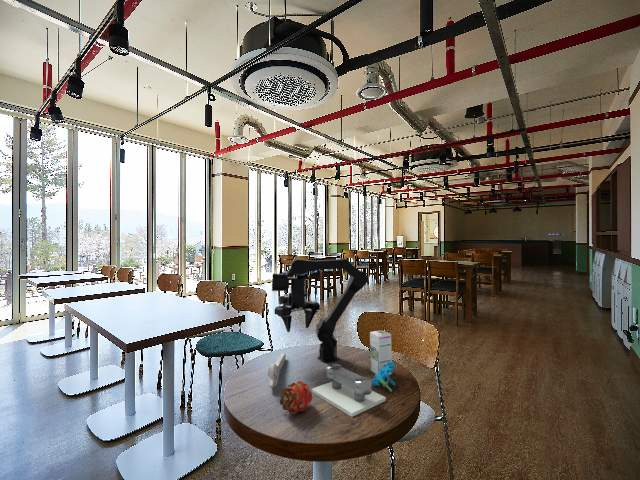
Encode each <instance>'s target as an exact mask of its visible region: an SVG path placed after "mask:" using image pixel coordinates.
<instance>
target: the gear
mask: <svg viewBox="0 0 640 480" xmlns="http://www.w3.org/2000/svg"><path fill="white" fill-rule="evenodd" d="M395 367H396V364H395V362H394V360H392V362H388V363H387V365H386V364H385V365H384V366H383V368H382V370H381V369H380V370H379V371H378V372H379V374H378V375H377V374H374V376H373V377H374V378H372V379H371V380H372V386H374V387H376V386H377V387H378V386H379V385H380V384H382V386H383V388H386V389H387V390H388V391H389V392H390V393H392V391H393V389H392V388H391V387H390V386H389V385H388V384H391V385H392V386H393V387H394V386H396V382H395V381H393V380H392V378H391V376H390V375H391V374H390V375H389V372H391V373H392V374H393V372H394V369H395Z"/></svg>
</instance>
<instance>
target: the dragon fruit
mask: <svg viewBox="0 0 640 480" xmlns="http://www.w3.org/2000/svg"><path fill="white" fill-rule="evenodd" d="M281 394H282V395H281V397H280V400H279V404H280V405H281V406H282V407H281V408H282V410H283V411H289V414H290V415H293V416H294V415H295V416H296V415H297V414H298V413H299V412H301V413H304V412H308V410H309V409H308V405H310V404H311V402H312V400H313V393H312V390H311V388H310V387H309V385H308V383H306V382H303V381H302V380H298V381H297V382H296V383H295V382H292V383H289V384H288V387H283V388H282V389H281Z"/></svg>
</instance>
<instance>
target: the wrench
mask: <svg viewBox="0 0 640 480" xmlns="http://www.w3.org/2000/svg"><path fill="white" fill-rule="evenodd" d="M285 362H286V353H284V352H281V353H280V354H279V357H278V358H277V359H276V361H275V362H274V363H269V364H268V365H269V366H268V368H267V377H268V378H269V379H270V380H269V383H268V387H269V388H276V386H277V380H278V376H279V373H280V371H281V369H282V368H283V365H284V363H285Z"/></svg>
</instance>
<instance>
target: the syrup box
mask: <svg viewBox="0 0 640 480" xmlns="http://www.w3.org/2000/svg"><path fill="white" fill-rule="evenodd" d="M369 349H370V350H369V355H370V357H369V359H370V362H369V363H370V368H369V371H370V372H372V373H373V374H374V375H376V374H377V375H378V374H379V372H378V371H379V370H380V369H381V370H382V368H383V366H384V365H385V364H386V365H387V363H388V362H392V361H393V360H392V359H393V358H392V334H391V333H389V332H388V331H384V330H383V329H381V330H374V331H370V332H369ZM389 374H390V375H392V374H393V372H392V373H391V372H389Z"/></svg>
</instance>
